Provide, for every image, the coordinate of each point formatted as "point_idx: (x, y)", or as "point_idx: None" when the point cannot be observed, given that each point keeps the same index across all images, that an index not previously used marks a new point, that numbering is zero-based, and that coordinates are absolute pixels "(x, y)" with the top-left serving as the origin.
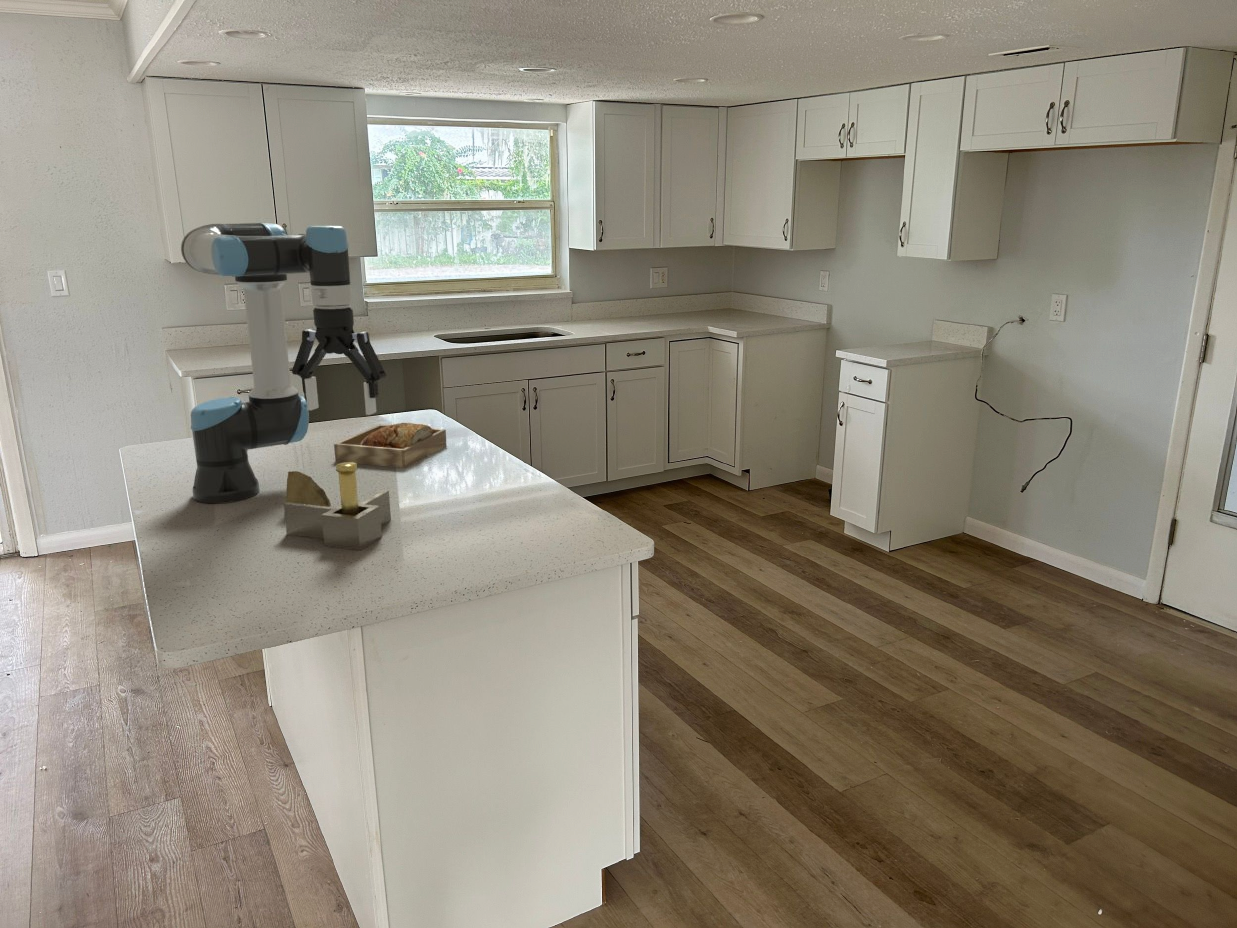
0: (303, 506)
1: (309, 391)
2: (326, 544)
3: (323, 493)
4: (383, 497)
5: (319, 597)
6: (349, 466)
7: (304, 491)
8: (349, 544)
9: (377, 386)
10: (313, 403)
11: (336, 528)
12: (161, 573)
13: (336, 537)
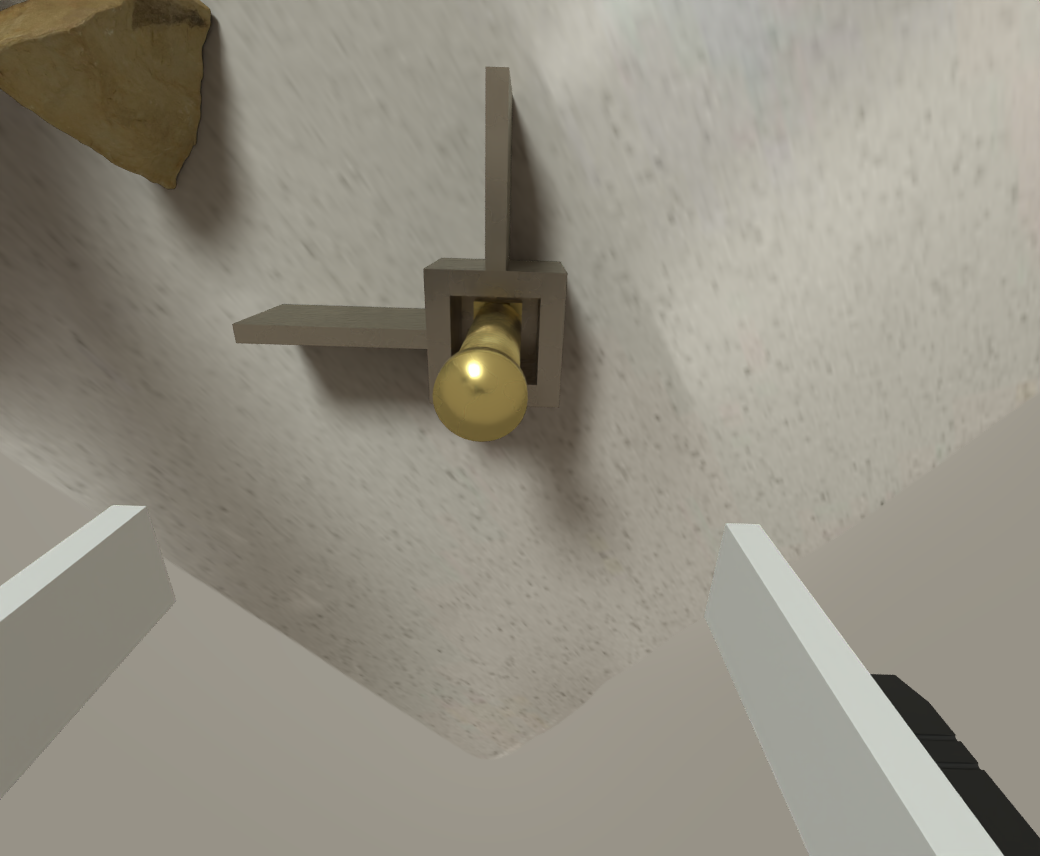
0: (316, 345)
1: (25, 757)
2: None
3: (160, 8)
4: (508, 124)
5: (597, 597)
6: (507, 415)
7: (124, 93)
8: None
9: (1019, 825)
10: (126, 601)
11: None
12: (220, 580)
13: None
